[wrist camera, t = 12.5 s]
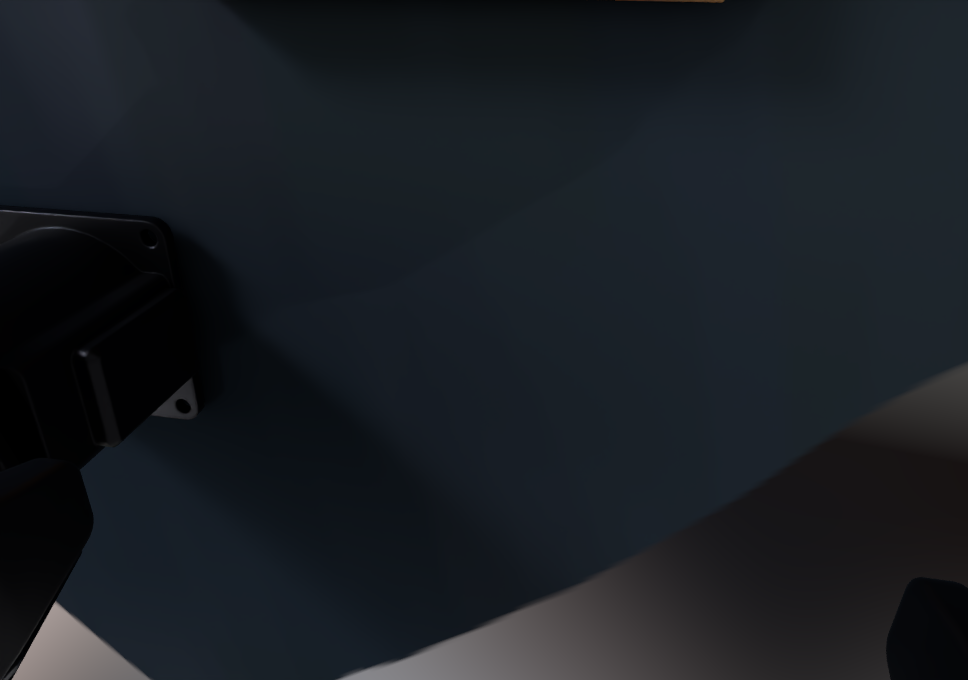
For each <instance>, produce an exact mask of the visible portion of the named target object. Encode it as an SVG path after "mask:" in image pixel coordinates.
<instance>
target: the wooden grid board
mask: <svg viewBox="0 0 968 680" xmlns="http://www.w3.org/2000/svg"><path fill="white" fill-rule="evenodd" d="M617 1H663V2H710V3H723V2H724V1H725V0H617Z"/></svg>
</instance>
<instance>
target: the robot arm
mask: <svg viewBox="0 0 968 680" xmlns="http://www.w3.org/2000/svg"><path fill="white" fill-rule="evenodd" d="M148 230H149V231H152V232H153V233H154V234H155V236H156V238H157V242H155V241H153V240H152V239H151V238H150V236H149V234H148ZM199 369H200V365H199V360H198V355H197V349H196V344H195V339H194V334H193V328H192V323H191V318H190V313H189V307H188V302H187V298H186V296H185V294H184V291H183V286H182V280H181V275H180V270H179V265H178V259H177V254H176V249H175V244H174V239H173V234H172V232H171V229H170V227H169V226H168V225H167V224H166V223H165V222H164V221H163V220H161V219H159V218H156V217H149V216H136V215H122V214H109V213H96V212H82V211H69V210H56V209H42V208H29V207H16V206H2V205H0V680H12V678H13V676H14V675H15V673H16V671H17V669H18V668H19V666H20V664H21V662H22V660H23V659H24V657H25V655H26V653H27V651H28V649H29V648H30V646H31V644H32V642H33V640H34V638H35V637H36V635H37V633H38V631H39V630H40V628H41V626H42V624H43V622H44V620H45V619H46V617H47V615H48V613H49V612H50V610H51V608H52V606H53V604H54V603H55V601H56V599H57V597H58V595H59V593H60V592H61V590H62V588H63V586H64V584H65V583H66V581H67V579H68V577H69V575H70V574H71V572H72V570H73V568H74V566H75V565H76V563H77V561H78V559H79V557H80V555H81V553H82V549H83V548H84V546H85V544H86V543H87V541H88V539H89V537H90V535H91V532H92V529H93V523H94V517H93V512H92V509H91V506H90V502H89V499H88V496H87V492H86V489H85V486H84V482H83V479H82V475H81V472H80V469H81V468H82V467H84V466H85V465H86V464H87V463H88V462H89V461H90V460H91V459H92V458H94V457H95V456H96V455H97V454H98V453H99V452H100V451H101V450H102V449H104V448H105V447H106V446H107V447H115V446H117V445H119V444H120V443H121V442H122V441H123V440H124V439H125V438H126V437H127V436H128V435H130V434H131V433H132V432H133V431H134V430H135V429H136V428H137V427H138V426H139V425H140V424H142V423H143V422H144V421H145V420H146V419H147V418H148V417H149V416H150V415H152V416H161V417H169V418H177V419H185V420H187V419H193V418H194V417H196V416H197V415H198V414H199V413H200V412H201V411H202V409H203V408H204V402H205V401H204V396H203V391H202V385H201V380H200V375H199ZM183 400H186V401H187V402H188V403H189V404H190V406H189V405H187V404H186V403H184V401H183ZM886 652H887V653H886V654H887V662H888V668H889V673H890V678H891V680H968V588H967V587H965V586H964V585H962V584H960V583H957V582H953V581H945V580H939V579H930V578H923V577H919V578H915V579H913V580H911V582H909V584H908V585H907V587H906V589H905V592H904V594H903V597H902V600H901V602H900V605H899V607H898V610H897V613H896V615H895V618H894V620H893V623H892V626H891V629H890V631H889V634H888V637H887V646H886Z"/></svg>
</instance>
